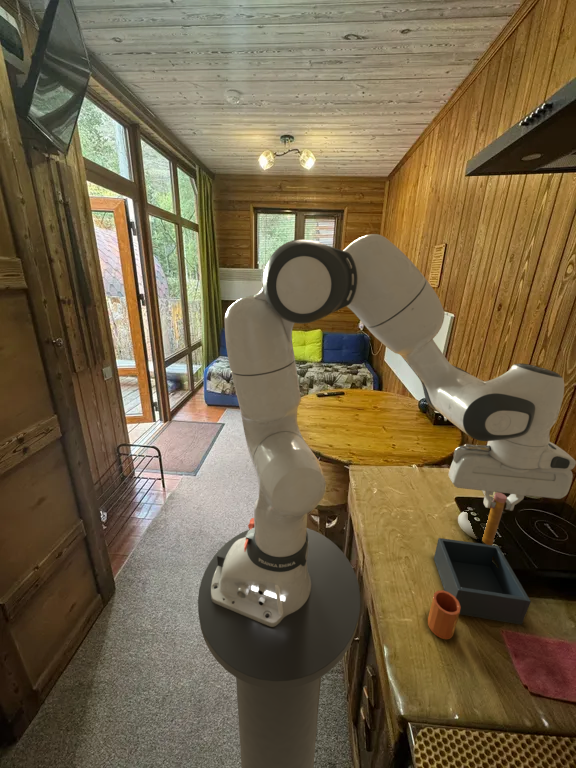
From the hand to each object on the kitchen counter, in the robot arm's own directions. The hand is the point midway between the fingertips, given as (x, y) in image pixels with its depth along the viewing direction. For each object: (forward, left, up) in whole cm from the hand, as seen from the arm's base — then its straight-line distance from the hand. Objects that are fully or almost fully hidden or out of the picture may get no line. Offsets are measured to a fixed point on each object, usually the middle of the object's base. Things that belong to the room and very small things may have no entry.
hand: (497, 507), depth 63 cm
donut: (+8, +19, -23) cm, 31 cm away
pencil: (0, 0, -9) cm, 9 cm away
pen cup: (-10, -10, -23) cm, 27 cm away
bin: (0, 0, -23) cm, 23 cm away
